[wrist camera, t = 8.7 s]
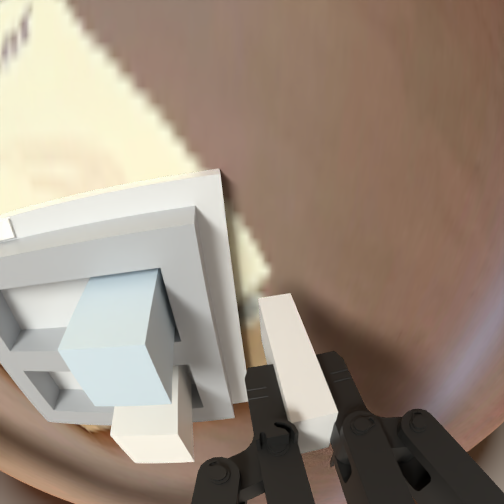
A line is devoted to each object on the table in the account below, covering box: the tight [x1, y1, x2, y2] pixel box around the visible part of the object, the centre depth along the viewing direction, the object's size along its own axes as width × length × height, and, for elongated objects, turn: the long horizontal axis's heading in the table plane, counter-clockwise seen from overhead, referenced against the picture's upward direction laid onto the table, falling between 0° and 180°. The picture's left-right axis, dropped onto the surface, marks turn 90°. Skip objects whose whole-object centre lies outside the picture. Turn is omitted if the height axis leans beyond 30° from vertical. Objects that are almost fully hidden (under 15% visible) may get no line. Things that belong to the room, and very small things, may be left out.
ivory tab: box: [110, 365, 194, 463], centre depth 18 cm, size 4×4×7 cm
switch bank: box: [0, 169, 248, 425], centre depth 19 cm, size 20×19×4 cm
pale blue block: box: [58, 268, 175, 406], centre depth 15 cm, size 4×4×7 cm
